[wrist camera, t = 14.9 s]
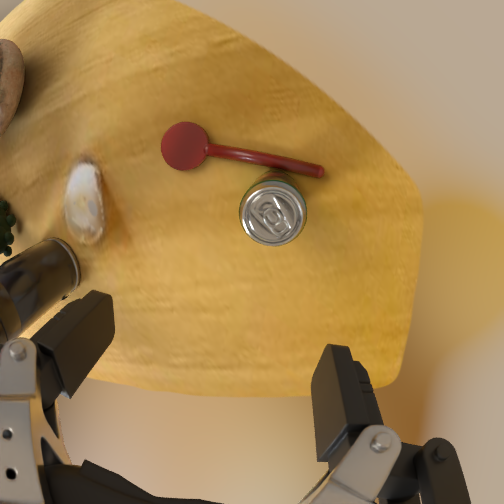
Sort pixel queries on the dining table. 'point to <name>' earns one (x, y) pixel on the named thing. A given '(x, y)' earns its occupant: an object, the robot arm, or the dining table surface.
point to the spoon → (221, 152)
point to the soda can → (273, 209)
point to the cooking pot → (10, 81)
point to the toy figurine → (6, 229)
